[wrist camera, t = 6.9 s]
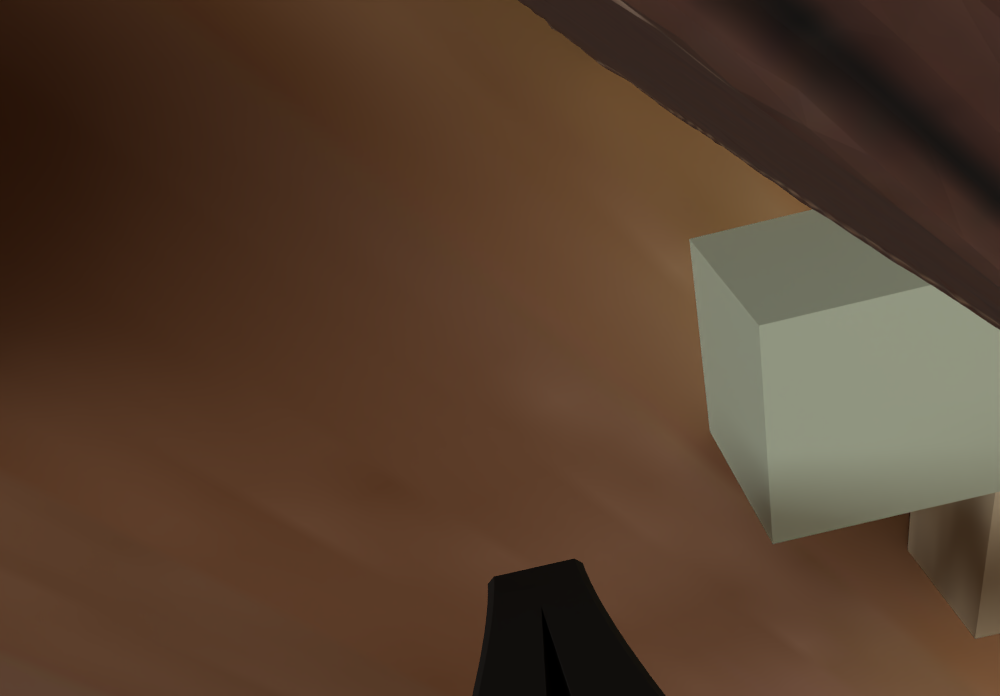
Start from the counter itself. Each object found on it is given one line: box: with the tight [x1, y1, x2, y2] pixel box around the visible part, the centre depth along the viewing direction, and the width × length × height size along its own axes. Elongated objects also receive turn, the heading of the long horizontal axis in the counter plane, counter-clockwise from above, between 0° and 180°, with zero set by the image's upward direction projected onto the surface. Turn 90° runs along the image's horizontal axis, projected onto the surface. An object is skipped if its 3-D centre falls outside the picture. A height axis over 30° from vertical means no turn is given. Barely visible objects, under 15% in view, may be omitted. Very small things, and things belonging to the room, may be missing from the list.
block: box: [690, 210, 1000, 544], centre depth 17 cm, size 5×5×4 cm
